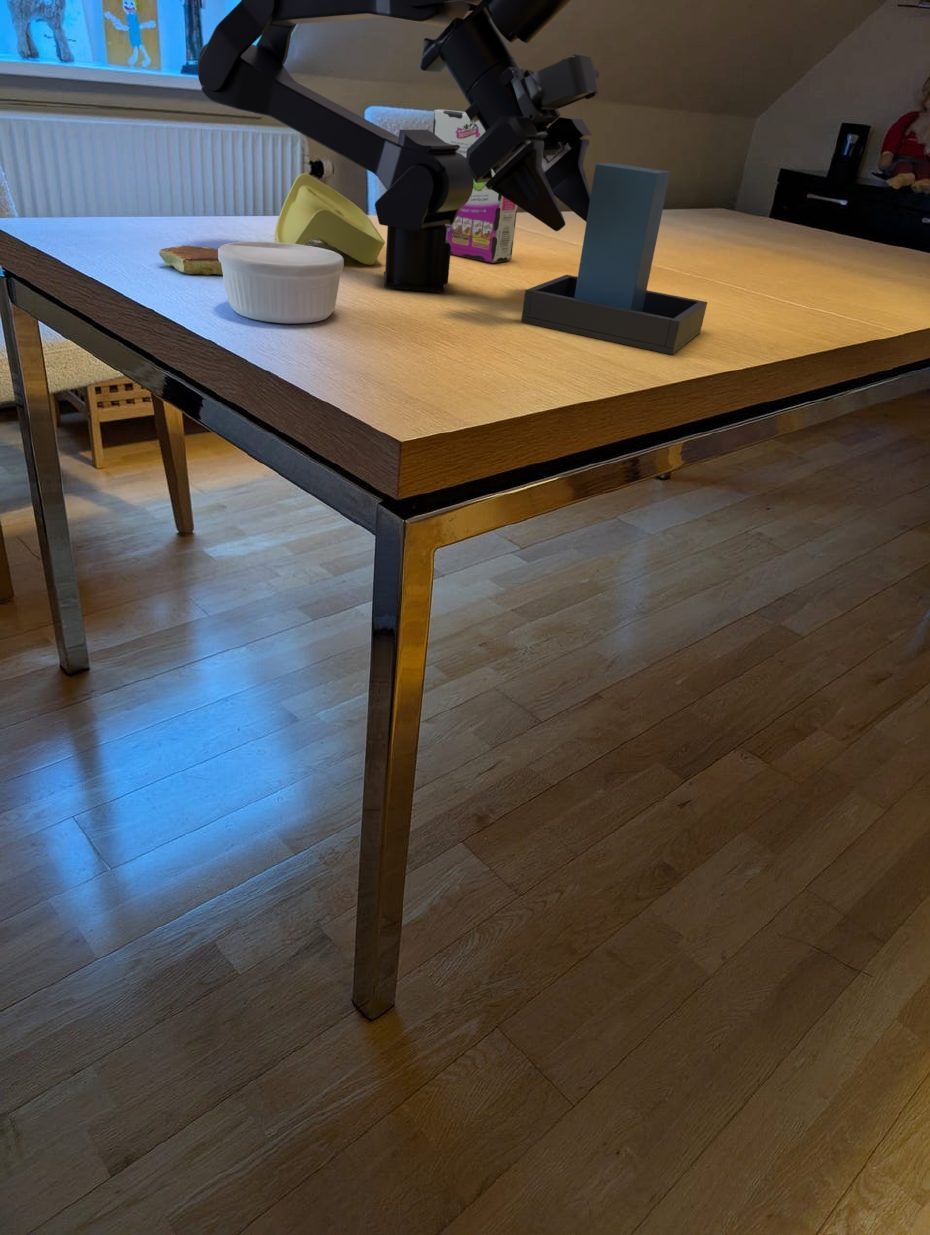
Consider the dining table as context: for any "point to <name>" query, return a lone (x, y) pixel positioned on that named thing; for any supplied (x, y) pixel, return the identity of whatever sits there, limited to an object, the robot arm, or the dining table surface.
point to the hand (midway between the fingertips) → (577, 224)
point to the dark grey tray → (615, 316)
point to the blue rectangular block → (621, 235)
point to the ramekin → (280, 280)
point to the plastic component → (327, 221)
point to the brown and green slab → (192, 259)
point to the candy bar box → (476, 200)
